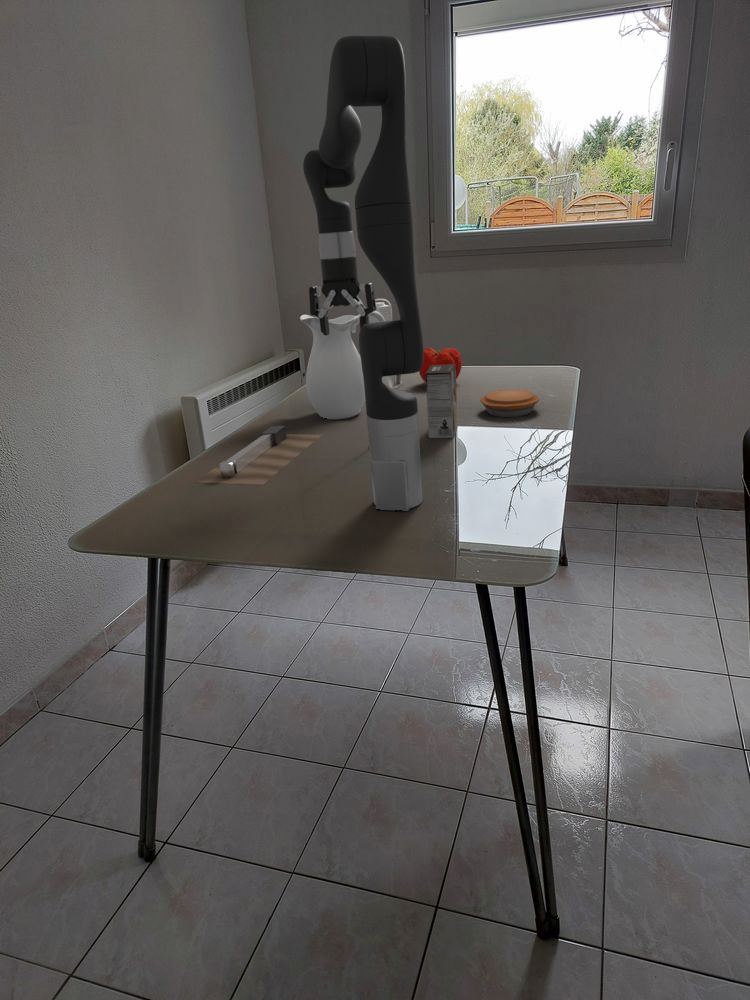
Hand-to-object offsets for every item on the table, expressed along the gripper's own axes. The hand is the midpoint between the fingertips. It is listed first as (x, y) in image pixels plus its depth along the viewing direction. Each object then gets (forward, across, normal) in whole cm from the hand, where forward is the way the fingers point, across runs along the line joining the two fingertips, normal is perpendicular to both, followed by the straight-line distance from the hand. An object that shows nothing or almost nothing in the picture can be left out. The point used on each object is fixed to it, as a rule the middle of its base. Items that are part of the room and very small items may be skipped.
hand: (345, 334), depth 146 cm
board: (+27, -20, -9) cm, 34 cm away
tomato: (+27, +8, +68) cm, 73 cm away
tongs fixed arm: (+26, -22, -9) cm, 35 cm away
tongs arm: (+25, -21, -7) cm, 34 cm away
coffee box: (+27, +18, +15) cm, 36 cm away
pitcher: (+27, -12, +34) cm, 45 cm away
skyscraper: (+27, -9, +64) cm, 70 cm away
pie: (+27, +32, +35) cm, 55 cm away
